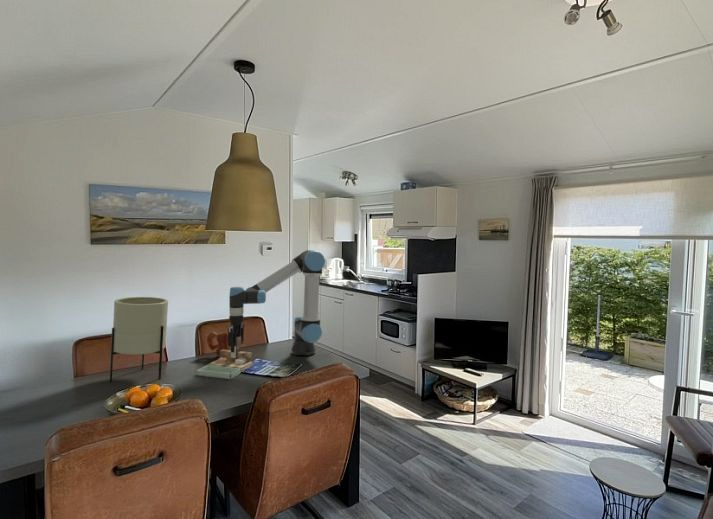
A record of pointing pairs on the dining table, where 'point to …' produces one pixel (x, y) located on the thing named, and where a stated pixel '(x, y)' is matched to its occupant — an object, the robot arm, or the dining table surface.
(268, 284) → the robot arm
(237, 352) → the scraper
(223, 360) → the tile
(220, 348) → the reddish brown curved figurine
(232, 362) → the board
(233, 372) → the tray
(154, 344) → the planter
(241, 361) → the tile
